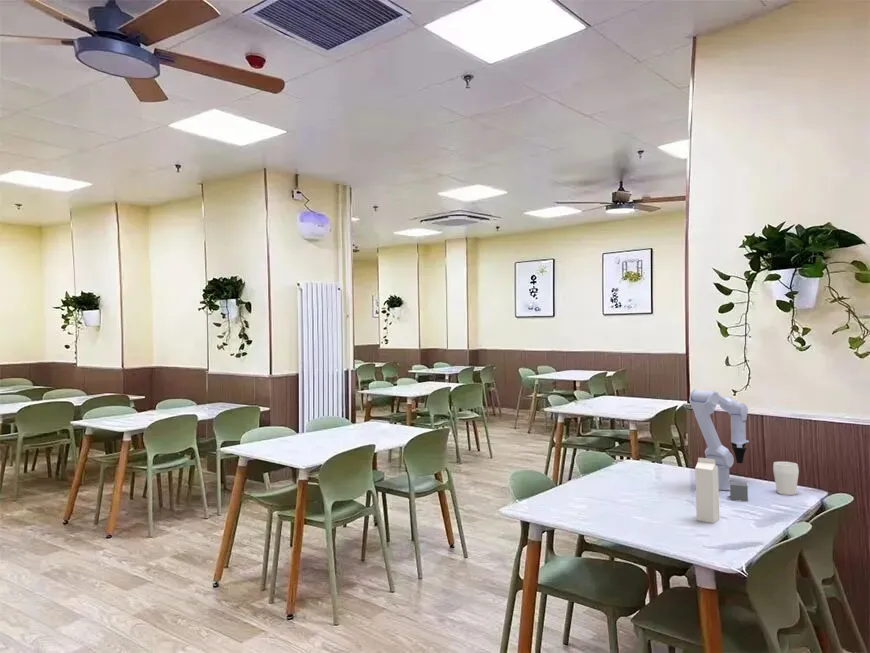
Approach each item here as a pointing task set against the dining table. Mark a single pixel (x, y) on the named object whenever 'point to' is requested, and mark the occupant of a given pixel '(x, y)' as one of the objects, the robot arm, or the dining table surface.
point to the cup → (786, 477)
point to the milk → (707, 490)
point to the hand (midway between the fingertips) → (739, 461)
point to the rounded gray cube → (738, 491)
